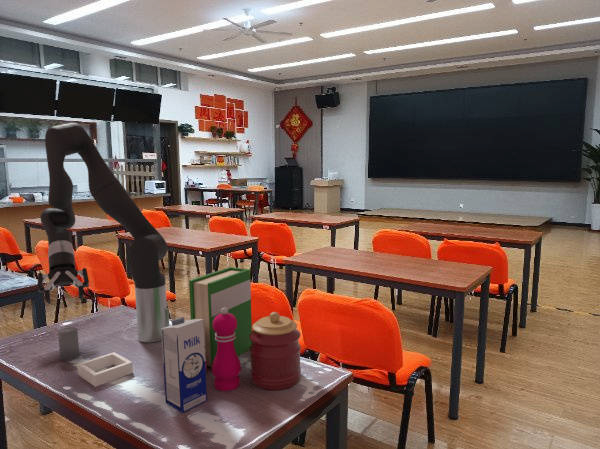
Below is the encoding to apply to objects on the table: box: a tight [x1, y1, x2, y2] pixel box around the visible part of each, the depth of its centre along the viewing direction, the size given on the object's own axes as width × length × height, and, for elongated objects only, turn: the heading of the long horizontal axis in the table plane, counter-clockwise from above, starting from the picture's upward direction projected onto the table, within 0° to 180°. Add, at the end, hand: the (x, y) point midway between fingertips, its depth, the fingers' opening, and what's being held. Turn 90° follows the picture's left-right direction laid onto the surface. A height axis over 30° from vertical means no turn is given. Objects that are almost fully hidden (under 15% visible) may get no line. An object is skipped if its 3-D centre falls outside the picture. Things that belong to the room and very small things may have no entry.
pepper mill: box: [211, 308, 242, 392], centre depth 112 cm, size 7×7×20 cm
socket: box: [77, 351, 134, 388], centre depth 120 cm, size 10×10×3 cm
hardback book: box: [188, 266, 253, 372], centre depth 129 cm, size 18×7×24 cm, turn 151°
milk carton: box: [161, 317, 208, 414], centre depth 104 cm, size 7×7×20 cm
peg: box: [57, 326, 80, 362], centre depth 131 cm, size 5×5×8 cm
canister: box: [249, 311, 302, 391], centre depth 115 cm, size 13×13×18 cm
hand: (65, 300), depth 139 cm, fingers open, 8 cm apart
